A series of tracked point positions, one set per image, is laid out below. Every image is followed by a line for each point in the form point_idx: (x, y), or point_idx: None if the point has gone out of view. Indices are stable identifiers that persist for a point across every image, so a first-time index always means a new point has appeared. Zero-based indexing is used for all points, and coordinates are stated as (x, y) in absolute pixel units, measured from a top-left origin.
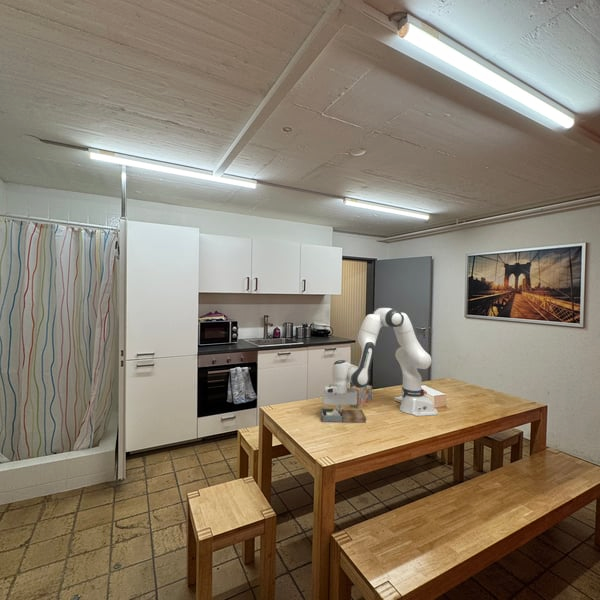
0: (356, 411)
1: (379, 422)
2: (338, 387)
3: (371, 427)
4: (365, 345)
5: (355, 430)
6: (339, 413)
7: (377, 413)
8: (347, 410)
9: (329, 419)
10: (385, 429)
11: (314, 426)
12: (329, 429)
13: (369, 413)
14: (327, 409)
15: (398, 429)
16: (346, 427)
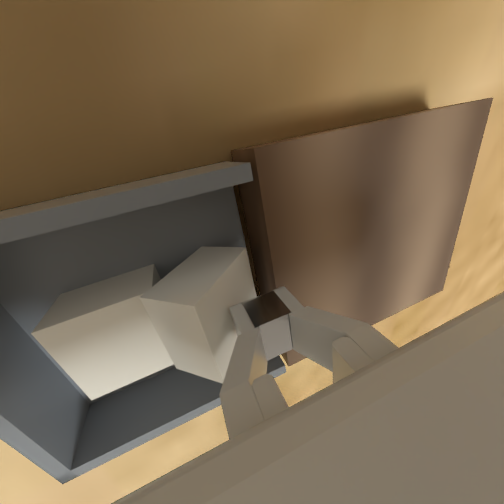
0: (428, 174)
1: (470, 233)
2: None
3: (411, 312)
4: None
5: (332, 380)
6: (247, 273)
7: None
8: (347, 168)
9: (156, 399)
10: (455, 303)
11: (51, 492)
12: (188, 452)
13: (494, 59)
14: (6, 242)
15: (497, 280)
16: (290, 377)
